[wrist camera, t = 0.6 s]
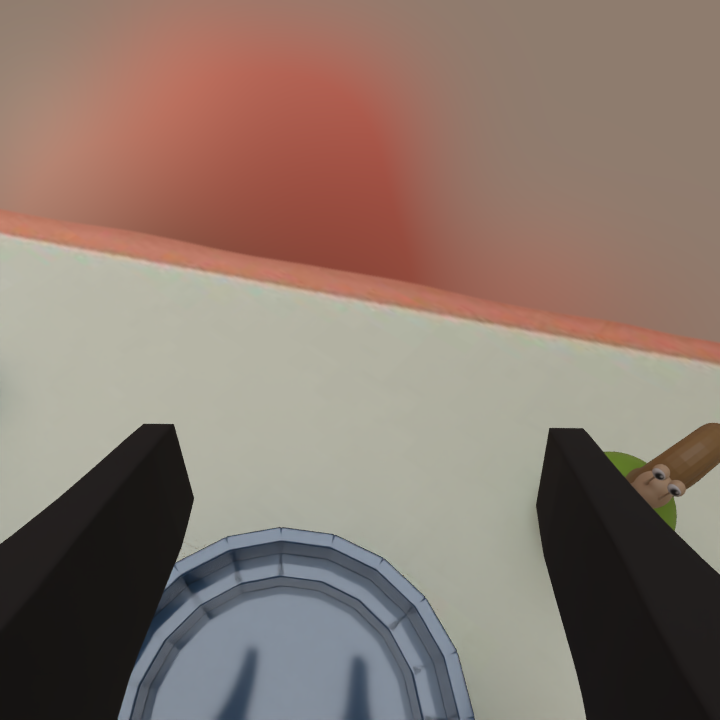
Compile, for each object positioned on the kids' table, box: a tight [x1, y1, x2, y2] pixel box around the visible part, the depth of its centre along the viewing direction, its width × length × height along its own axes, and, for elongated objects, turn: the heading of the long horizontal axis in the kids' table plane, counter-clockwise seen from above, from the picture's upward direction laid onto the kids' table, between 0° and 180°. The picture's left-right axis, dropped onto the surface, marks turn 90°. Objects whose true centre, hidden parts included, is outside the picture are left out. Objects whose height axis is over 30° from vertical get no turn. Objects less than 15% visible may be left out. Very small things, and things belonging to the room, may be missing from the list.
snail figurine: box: [604, 423, 720, 530], centre depth 26 cm, size 5×6×12 cm
